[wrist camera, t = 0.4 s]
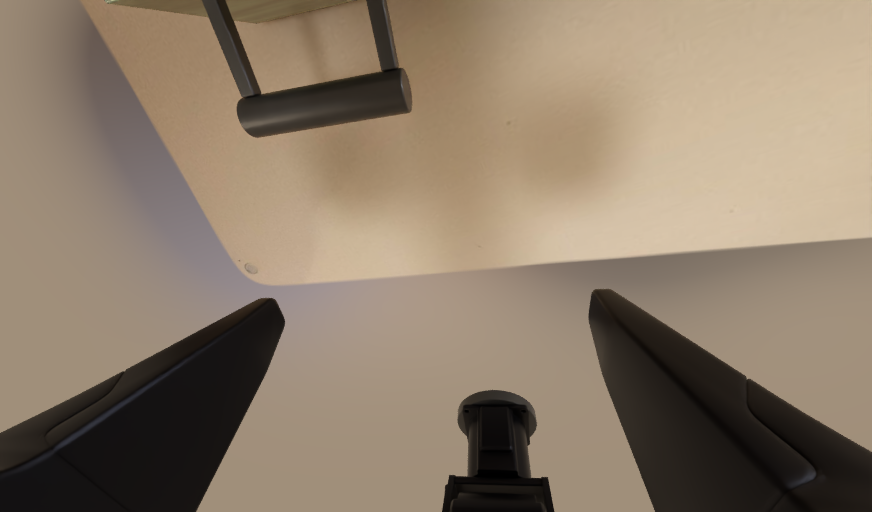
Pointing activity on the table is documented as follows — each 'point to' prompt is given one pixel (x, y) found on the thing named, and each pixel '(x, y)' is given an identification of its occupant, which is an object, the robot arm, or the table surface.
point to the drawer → (303, 103)
